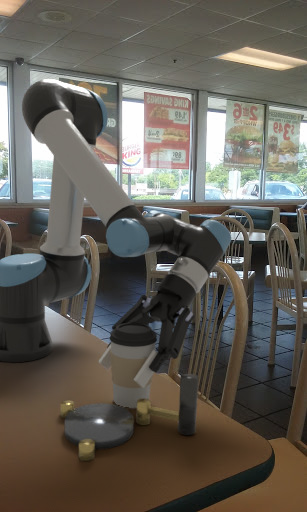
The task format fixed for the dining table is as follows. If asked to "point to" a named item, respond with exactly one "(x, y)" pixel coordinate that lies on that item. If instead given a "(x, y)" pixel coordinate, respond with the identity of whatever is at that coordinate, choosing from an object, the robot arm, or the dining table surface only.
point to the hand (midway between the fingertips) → (120, 374)
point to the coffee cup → (130, 361)
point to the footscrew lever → (186, 407)
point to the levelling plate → (96, 426)
